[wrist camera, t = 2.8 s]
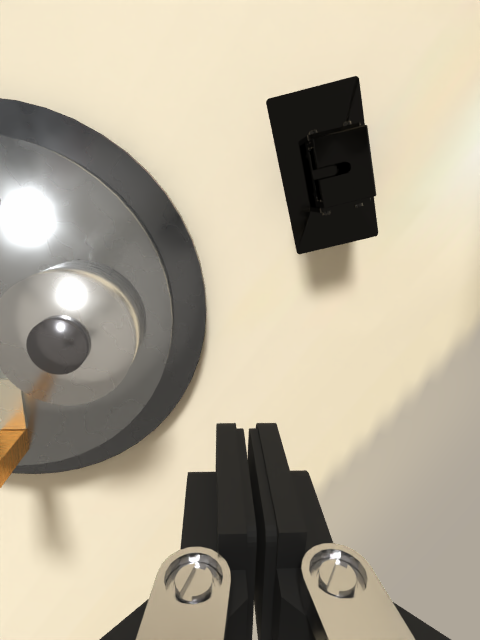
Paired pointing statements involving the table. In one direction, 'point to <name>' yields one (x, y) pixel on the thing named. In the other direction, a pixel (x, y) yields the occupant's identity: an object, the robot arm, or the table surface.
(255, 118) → the table surface
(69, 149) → the base
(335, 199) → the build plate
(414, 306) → the table surface
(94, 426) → the platter
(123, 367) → the cover
